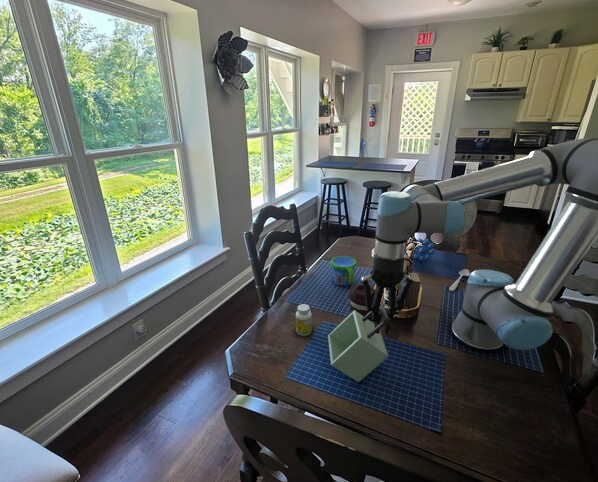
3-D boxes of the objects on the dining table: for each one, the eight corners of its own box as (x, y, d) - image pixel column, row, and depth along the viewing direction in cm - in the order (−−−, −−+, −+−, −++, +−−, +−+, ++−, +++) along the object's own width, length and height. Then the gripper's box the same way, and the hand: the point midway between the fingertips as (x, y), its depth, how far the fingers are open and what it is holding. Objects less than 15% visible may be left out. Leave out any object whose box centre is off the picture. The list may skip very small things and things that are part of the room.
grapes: (436, 261, 155) (440, 238, 150) (430, 266, 150) (434, 243, 146) (413, 254, 162) (416, 232, 158) (407, 259, 158) (410, 236, 153)
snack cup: (325, 275, 145) (326, 254, 141) (347, 272, 147) (348, 252, 143) (336, 293, 130) (337, 271, 127) (361, 290, 133) (362, 268, 129)
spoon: (471, 273, 144) (472, 270, 143) (456, 292, 130) (456, 289, 129) (461, 270, 146) (462, 267, 146) (445, 289, 132) (446, 285, 131)
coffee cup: (376, 338, 105) (380, 299, 100) (346, 334, 107) (348, 296, 101) (376, 319, 114) (379, 283, 109) (348, 316, 116) (349, 280, 110)
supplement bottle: (314, 333, 108) (314, 309, 104) (300, 338, 106) (299, 314, 102) (307, 324, 113) (307, 301, 109) (293, 328, 110) (292, 305, 107)
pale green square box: (397, 310, 94) (372, 291, 91) (410, 337, 83) (382, 317, 80) (352, 351, 100) (327, 335, 98) (358, 382, 89) (331, 365, 86)
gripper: (414, 247, 83) (404, 321, 93) (357, 248, 84) (352, 322, 93) (424, 260, 76) (412, 339, 86) (362, 261, 77) (356, 339, 86)
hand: (381, 330), depth 89 cm, fingers closed on pale green square box, 2 cm apart
